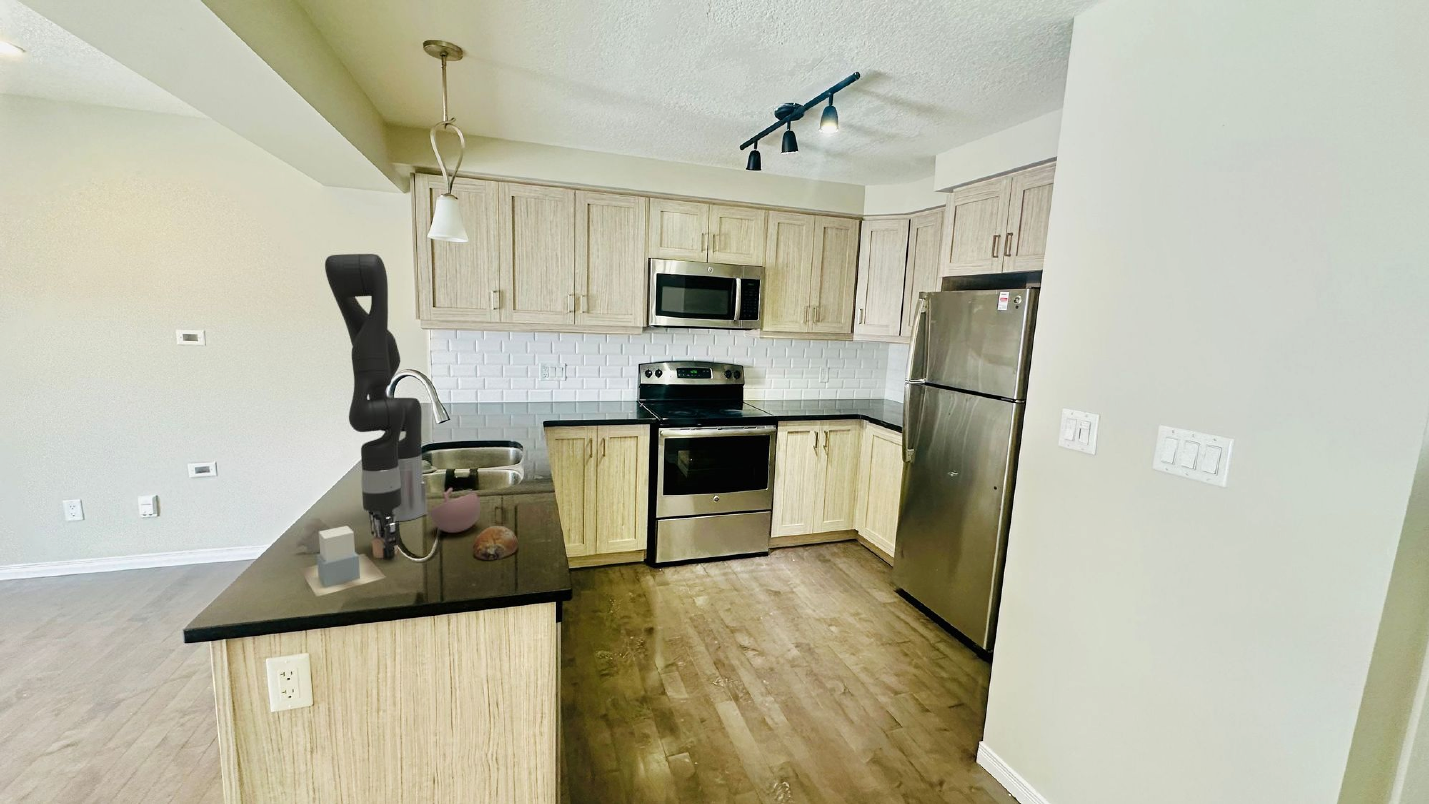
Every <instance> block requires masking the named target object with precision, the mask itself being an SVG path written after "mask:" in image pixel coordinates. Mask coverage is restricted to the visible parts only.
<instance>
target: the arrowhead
mask: <svg viewBox="0 0 1429 804" xmlns="http://www.w3.org/2000/svg"><path fill="white" fill-rule="evenodd" d="M329 529H331V527H330V526H329V525H328V524H327V523H326V522H325V521H323V520H322V519H321V518H320V517H319V516H314V517H312V518H311V519H310V520H309V521H308V522H307V523H306V524H305V525H304V527H303V528H302V529H301V530H302V531H301V532H300V534H299V535H298V537H297V538H296V541H295V544H294V545H295V548H297V549H298V548H299V547H300V548H301V547H302V546H305V547H306V551H305V553H304V554H316V553H320V543H319V531H324V530H329Z"/></svg>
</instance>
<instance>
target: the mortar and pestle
mask: <svg viewBox="0 0 1429 804" xmlns="http://www.w3.org/2000/svg"><path fill="white" fill-rule="evenodd" d="M452 492H453V487H449V488H448V489H447V491H445V492H443V493H442V494H443V495H442V496H443V499H444V500H443V501H444V502H443V503H441V504H439V505H436V506H434V507H432V508H430V509H429V516H430V519H431V522H432V523H433V525H434V526H435V527H436V528H438V529H439V530H441V531H443V532H446V533H450V534H452V533H453V534H454V533H455V534H456V533H460V532H464V531H466V530H468V529H469V528H471V527H472V526H473V525H474V524H475V523H476V522H477V521H478V519H479V517H480V513H481V502H480V499H479V497H478V495H477V494H476V493H475V492H473V493H469V494H466V495H462V496H461V495H460V496H459V497H457V498H454V499H451V500H450V497H449V496H450V495H451V493H452Z"/></svg>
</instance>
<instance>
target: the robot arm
mask: <svg viewBox="0 0 1429 804" xmlns="http://www.w3.org/2000/svg"><path fill="white" fill-rule="evenodd" d="M324 270H325V275H326V278H327V281H328V284H329V287H330V290H331V292H332V294H333V297H334V299H335V301H336V304H337V306H338V308H339V311H340V313H341V316H342V318H343V320H344V323H345V325H346V330H347V331H348V335H349V339H350V342H351V345H352V346H351V347H352V348H351V364H352V365H351V366H352V370H353V371H352V372H353V373H352V374H353V392H352V393H353V394H352V400H351V403H350V406H349V407H350V408H349V412H348V413H349V414H348V421H349V424H350V426H351V428H353V430H355V432H358V433H367V432H368V433H369V432H370V433H371V432H379V431H380V432H384V433H383V434H382V435H381V436H380V437H378V438H376V439H373V440H370V441H367V442H365V443H363V444H362V446H361V448H360V454H361V455H360V457H361V459H360V460H361V479H360V480H361V481H360V482H361V494H362V496H361V497H362V509H364V511H366V512H368V515H369V516H368V517H369V518H368V519H369V523H370V533H371V536H373V539H375V538H377V537H379V538H381V541H382V547H383V558H382V559H383V560H387V561H388V560H392V559H394V558H395V557H396V554H395V548H394V546H396V545H397V546H398V545H399V531H400V523H399V522H402V521H403V522H405V521H410V520H415V519H418V518H420V517H422V516H424V515H428V512H427V511H428V508H427V491H426V490H427V488H426V487H427V486H426V484H427V483H426V481H424V478H423V459H422V457H423V456H422V454H423V453H422V440H423V439H422V420H423V419H422V418H423V417H422V413H423V412H422V405H421V403H420V401H419V399H417V398H415V397H389V396H388V394H387V389H388V387H389V386H390V385H391V383H392V379H393V378H394V376H395V375H396V373H397V372H398V369H399V368H400V365H401V356H400V352H399V348H398V345H397V341H396V337H394V335H393V334H392V333H391V332H392V331H390V330H389V329H388V327H389V323H388V321H389V320H388V319H389V305H388V304H389V288H388V287H389V286H388V285H389V284H388V274H387V270H386V267H385V263H384V261H383V259H382V258H381V257H380V255H378V254H375V253H346V254H331V255H329V256H327V258H326V259H325V263H324ZM358 297H359V298H360V297H371V301H370V303H371V304H370V309H369V312H367V311H366V310H365V309H364V308H363V307H362V305H361V304H360V303H359V301H358V299H357V298H358ZM368 398H369V399H368ZM401 432H405V436H404V437H403V438H402V439H401V440H400V436H401ZM389 539H391V541H389Z"/></svg>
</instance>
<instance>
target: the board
mask: <svg viewBox="0 0 1429 804" xmlns="http://www.w3.org/2000/svg"><path fill="white" fill-rule="evenodd" d="M358 556H359V569H360V579H357V580H353V581H349V582H345V583H342V584H338V585H334V586H331V587H327V588H325V586H324V585H323V583H322V582H321V580H320V579H319V575H318V564H316V565H311V566H308V567H304V568H303V567H302V568H300V569H299V570H300V572H301V574H302V575H303V577H304V578H305V580H306V583H308V585H309V587H310V589H311V590H312V591H313V593H314V595H315V596H316V598H319V597H322V596H326V595H329V594H332V593H336V592H339V591H344V590H347V589H351V588H354V587H358V586H361V585H365V584H369V583H373V582H376V581H379V580H384V579H387V577H386V576H385V575H384V573H383V572H382V571H381V570H380V569H379V568H378V567H377V566H376V564H374V562H372V560H371V559H370V558H369V557H368V556H367V555H366V553H361V554H358Z"/></svg>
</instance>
